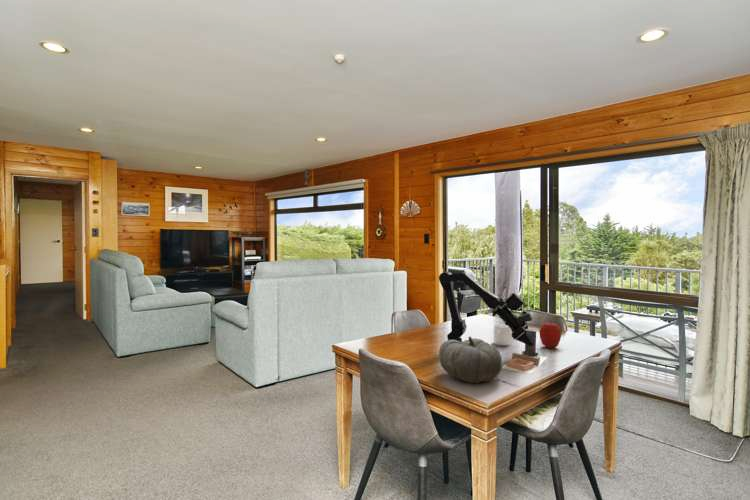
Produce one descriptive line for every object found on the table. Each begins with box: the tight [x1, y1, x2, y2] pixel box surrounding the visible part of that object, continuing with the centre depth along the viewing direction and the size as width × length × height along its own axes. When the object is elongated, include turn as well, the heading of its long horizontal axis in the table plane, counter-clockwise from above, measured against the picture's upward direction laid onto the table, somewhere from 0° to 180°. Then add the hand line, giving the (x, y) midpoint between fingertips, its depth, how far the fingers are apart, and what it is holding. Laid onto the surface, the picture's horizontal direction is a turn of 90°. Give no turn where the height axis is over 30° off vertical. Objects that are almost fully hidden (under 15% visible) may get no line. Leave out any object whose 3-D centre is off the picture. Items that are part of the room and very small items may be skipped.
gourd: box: [438, 336, 503, 384], centre depth 157 cm, size 25×25×17 cm
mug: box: [493, 323, 512, 346], centre depth 204 cm, size 12×8×10 cm
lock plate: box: [501, 352, 548, 375], centre depth 174 cm, size 28×12×4 cm, turn 143°
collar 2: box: [520, 350, 541, 361], centre depth 180 cm, size 8×8×2 cm
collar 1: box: [506, 358, 534, 371], centre depth 168 cm, size 8×8×2 cm
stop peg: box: [524, 328, 537, 357], centre depth 179 cm, size 4×4×13 cm
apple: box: [539, 322, 562, 349], centre depth 201 cm, size 10×10×14 cm
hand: (533, 343), depth 179 cm, fingers open, 9 cm apart
